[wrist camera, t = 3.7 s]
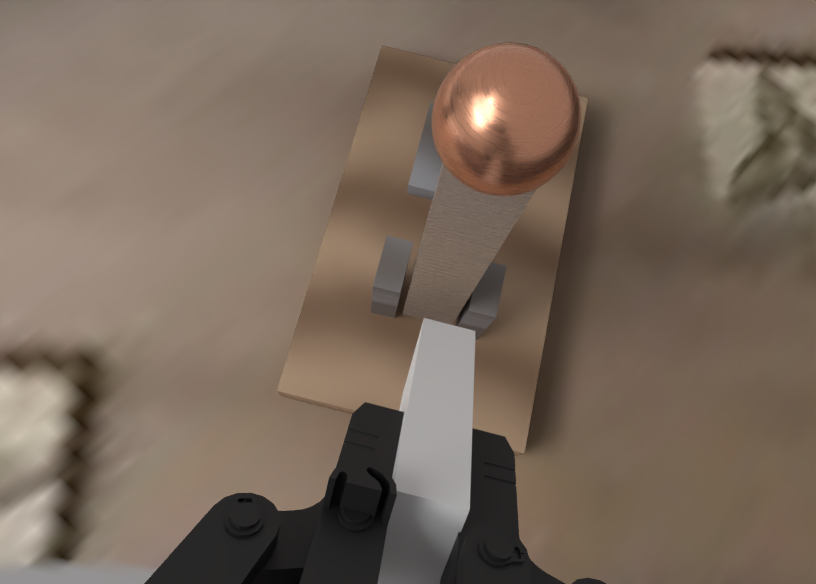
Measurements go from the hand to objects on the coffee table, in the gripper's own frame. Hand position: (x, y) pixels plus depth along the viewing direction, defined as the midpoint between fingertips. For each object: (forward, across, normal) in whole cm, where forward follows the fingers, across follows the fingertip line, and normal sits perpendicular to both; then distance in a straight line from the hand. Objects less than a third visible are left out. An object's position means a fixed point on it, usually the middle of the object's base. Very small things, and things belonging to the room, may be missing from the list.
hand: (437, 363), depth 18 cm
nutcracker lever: (+12, 0, -4) cm, 12 cm away
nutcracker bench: (+17, 0, -3) cm, 17 cm away
